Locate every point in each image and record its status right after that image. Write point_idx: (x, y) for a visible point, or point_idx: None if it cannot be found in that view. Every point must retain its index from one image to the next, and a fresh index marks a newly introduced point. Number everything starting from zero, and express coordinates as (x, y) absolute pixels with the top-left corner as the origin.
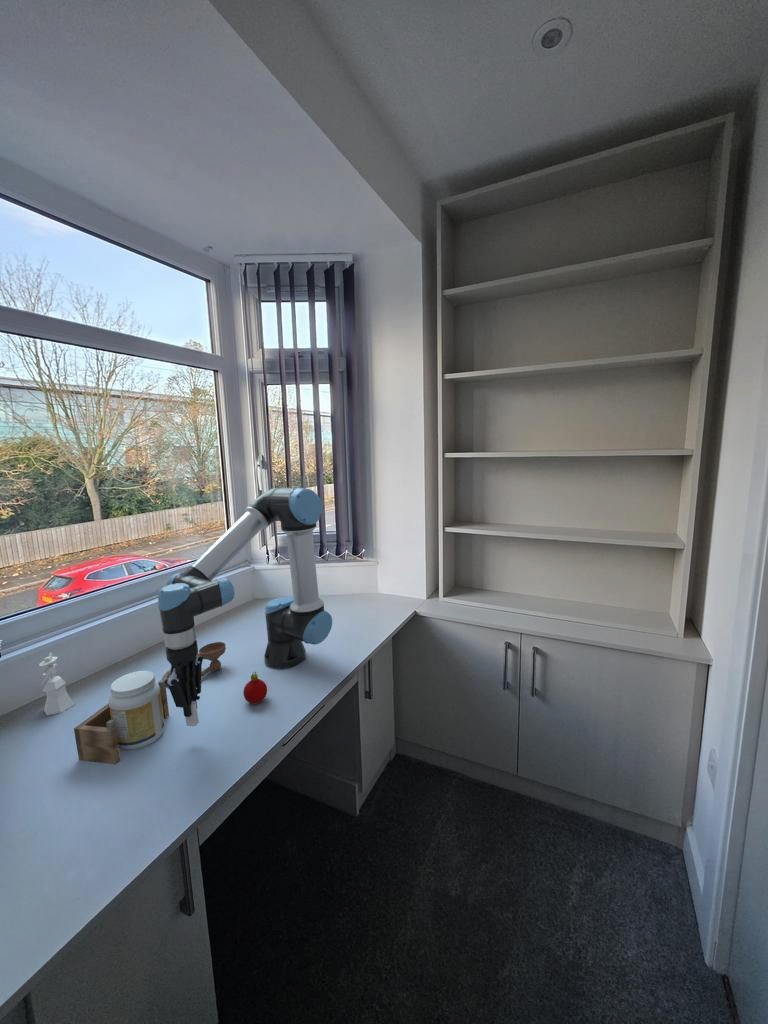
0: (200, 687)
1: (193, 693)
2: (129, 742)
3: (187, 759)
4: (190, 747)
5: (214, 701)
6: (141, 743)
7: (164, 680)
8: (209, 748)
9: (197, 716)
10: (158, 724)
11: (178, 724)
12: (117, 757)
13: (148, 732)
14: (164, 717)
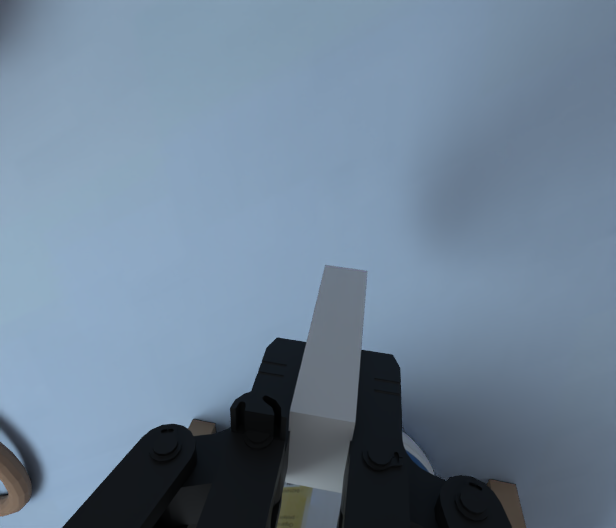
0: (122, 481)
1: (270, 518)
2: None
3: (539, 203)
4: (424, 234)
5: (38, 271)
6: (422, 460)
7: (16, 508)
8: (444, 105)
9: (323, 297)
10: None
11: (243, 363)
12: (507, 505)
13: None
14: (213, 432)
